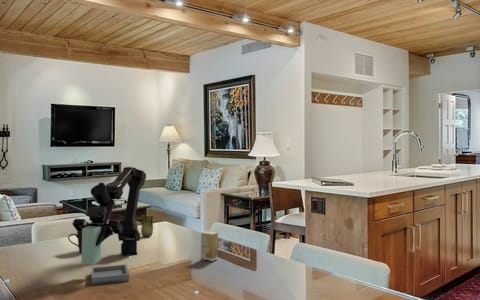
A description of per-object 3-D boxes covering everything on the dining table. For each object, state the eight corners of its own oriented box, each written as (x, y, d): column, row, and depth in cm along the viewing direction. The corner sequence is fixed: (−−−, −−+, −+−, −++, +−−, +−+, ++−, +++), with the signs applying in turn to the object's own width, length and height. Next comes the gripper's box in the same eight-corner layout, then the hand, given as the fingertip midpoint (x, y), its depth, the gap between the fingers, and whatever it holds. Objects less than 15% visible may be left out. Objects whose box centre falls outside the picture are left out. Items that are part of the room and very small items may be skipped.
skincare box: (200, 260, 176) (200, 232, 176) (205, 257, 180) (205, 230, 180) (212, 262, 173) (213, 234, 173) (218, 259, 177) (218, 232, 177)
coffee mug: (99, 249, 193) (99, 228, 193) (91, 254, 184) (91, 232, 184) (76, 248, 194) (76, 227, 194) (66, 253, 185) (67, 231, 185)
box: (126, 270, 161) (126, 264, 161) (129, 280, 148) (129, 274, 148) (91, 273, 156) (91, 267, 156) (91, 284, 144) (91, 278, 144)
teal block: (88, 259, 155) (89, 225, 155) (100, 260, 155) (101, 226, 154) (81, 263, 151) (82, 228, 150) (93, 264, 150) (94, 229, 149)
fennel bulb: (153, 236, 222) (153, 214, 221) (149, 238, 217) (149, 216, 217) (144, 235, 223) (144, 214, 223) (139, 237, 218) (139, 215, 218)
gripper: (74, 198, 158) (57, 232, 147) (119, 199, 155) (105, 234, 144) (85, 214, 165) (70, 248, 155) (128, 216, 162) (115, 250, 152)
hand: (89, 245), depth 151 cm, fingers closed on teal block, 5 cm apart
